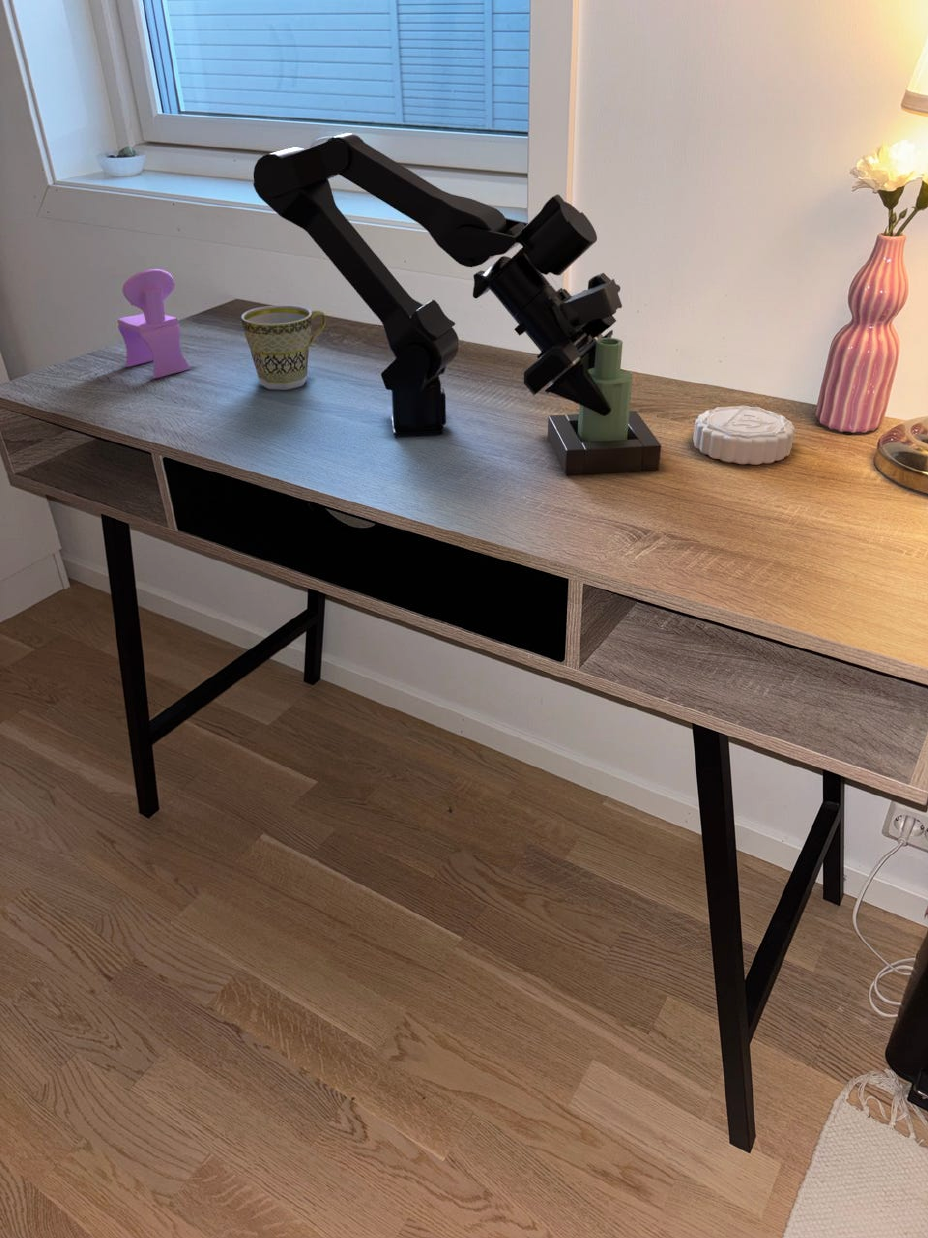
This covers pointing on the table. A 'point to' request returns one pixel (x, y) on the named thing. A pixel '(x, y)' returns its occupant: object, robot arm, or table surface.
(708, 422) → the mooncake
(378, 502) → the table surface
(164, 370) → the toy chair
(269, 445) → the table surface
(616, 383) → the vase
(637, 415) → the holder
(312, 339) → the ceramic cup
